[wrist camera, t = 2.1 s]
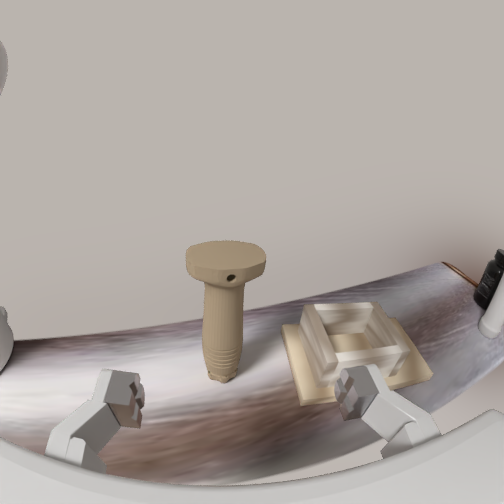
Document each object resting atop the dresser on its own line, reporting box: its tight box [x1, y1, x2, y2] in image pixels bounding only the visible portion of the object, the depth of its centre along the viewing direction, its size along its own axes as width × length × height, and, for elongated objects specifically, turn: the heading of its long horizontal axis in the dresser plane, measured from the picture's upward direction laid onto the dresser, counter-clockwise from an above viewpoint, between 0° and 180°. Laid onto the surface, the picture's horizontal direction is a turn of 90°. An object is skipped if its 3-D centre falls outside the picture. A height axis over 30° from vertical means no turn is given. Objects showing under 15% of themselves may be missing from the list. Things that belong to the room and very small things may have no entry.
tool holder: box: [281, 302, 433, 406], centre depth 31 cm, size 18×12×6 cm, turn 96°
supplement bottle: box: [474, 249, 504, 310], centre depth 42 cm, size 7×7×12 cm
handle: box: [186, 241, 266, 383], centre depth 26 cm, size 5×6×15 cm
